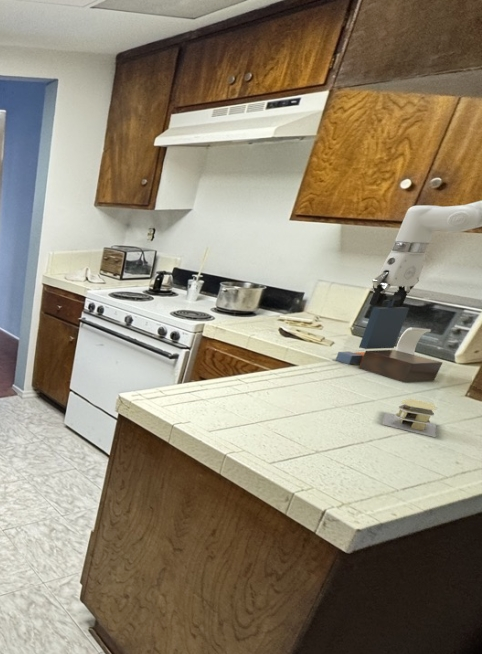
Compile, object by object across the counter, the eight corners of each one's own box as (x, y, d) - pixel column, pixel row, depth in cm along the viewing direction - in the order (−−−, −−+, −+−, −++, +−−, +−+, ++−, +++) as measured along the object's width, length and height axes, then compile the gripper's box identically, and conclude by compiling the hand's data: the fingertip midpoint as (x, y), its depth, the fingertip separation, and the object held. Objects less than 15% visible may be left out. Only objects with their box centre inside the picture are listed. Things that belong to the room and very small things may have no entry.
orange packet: (360, 360, 162) (374, 364, 158) (349, 360, 162) (363, 364, 158) (363, 352, 161) (378, 356, 157) (353, 352, 161) (367, 356, 157)
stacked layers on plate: (385, 413, 120) (394, 393, 118) (435, 425, 114) (446, 404, 112) (381, 424, 114) (391, 403, 112) (435, 437, 108) (446, 416, 106)
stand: (433, 380, 144) (442, 362, 142) (404, 382, 142) (412, 363, 140) (386, 366, 156) (393, 349, 154) (358, 368, 154) (365, 350, 152)
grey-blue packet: (345, 359, 163) (359, 363, 159) (335, 360, 162) (348, 364, 158) (349, 351, 162) (363, 355, 158) (338, 351, 161) (352, 355, 157)
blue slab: (414, 296, 148) (403, 294, 151) (384, 296, 146) (375, 295, 149) (393, 348, 154) (384, 345, 157) (365, 349, 152) (356, 346, 155)
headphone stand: (397, 361, 162) (412, 327, 157) (391, 357, 167) (405, 324, 162) (415, 363, 160) (431, 329, 155) (408, 359, 165) (424, 326, 160)
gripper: (400, 249, 140) (375, 308, 146) (446, 249, 142) (421, 307, 149) (372, 247, 146) (350, 303, 153) (417, 247, 149) (394, 302, 156)
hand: (385, 304), depth 151 cm, fingers open, 7 cm apart
